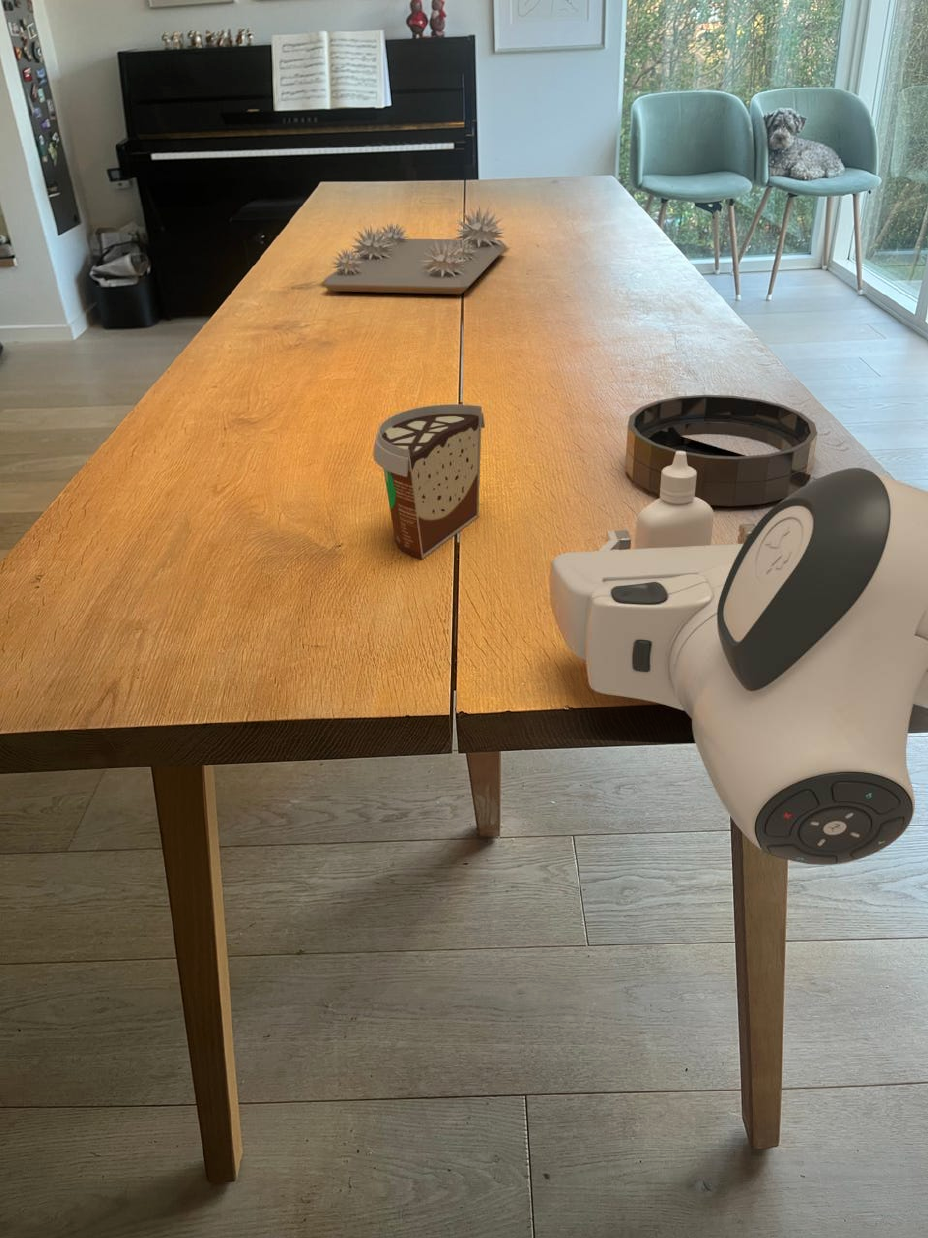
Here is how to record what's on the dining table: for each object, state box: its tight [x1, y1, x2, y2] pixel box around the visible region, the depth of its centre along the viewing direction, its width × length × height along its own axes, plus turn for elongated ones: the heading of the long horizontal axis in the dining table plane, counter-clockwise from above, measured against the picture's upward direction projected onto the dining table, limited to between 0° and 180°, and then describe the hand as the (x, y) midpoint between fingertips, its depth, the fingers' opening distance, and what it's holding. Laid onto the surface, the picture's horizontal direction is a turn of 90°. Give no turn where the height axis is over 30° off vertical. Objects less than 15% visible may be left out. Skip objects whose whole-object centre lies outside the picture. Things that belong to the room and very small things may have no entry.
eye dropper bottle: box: [633, 451, 714, 549], centre depth 72 cm, size 4×6×12 cm
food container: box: [372, 403, 486, 560], centre depth 84 cm, size 12×6×10 cm, turn 149°
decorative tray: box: [321, 205, 507, 295], centre depth 174 cm, size 35×26×10 cm
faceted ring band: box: [624, 394, 818, 507], centre depth 94 cm, size 17×17×5 cm
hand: (682, 536), depth 70 cm, fingers open, 8 cm apart
